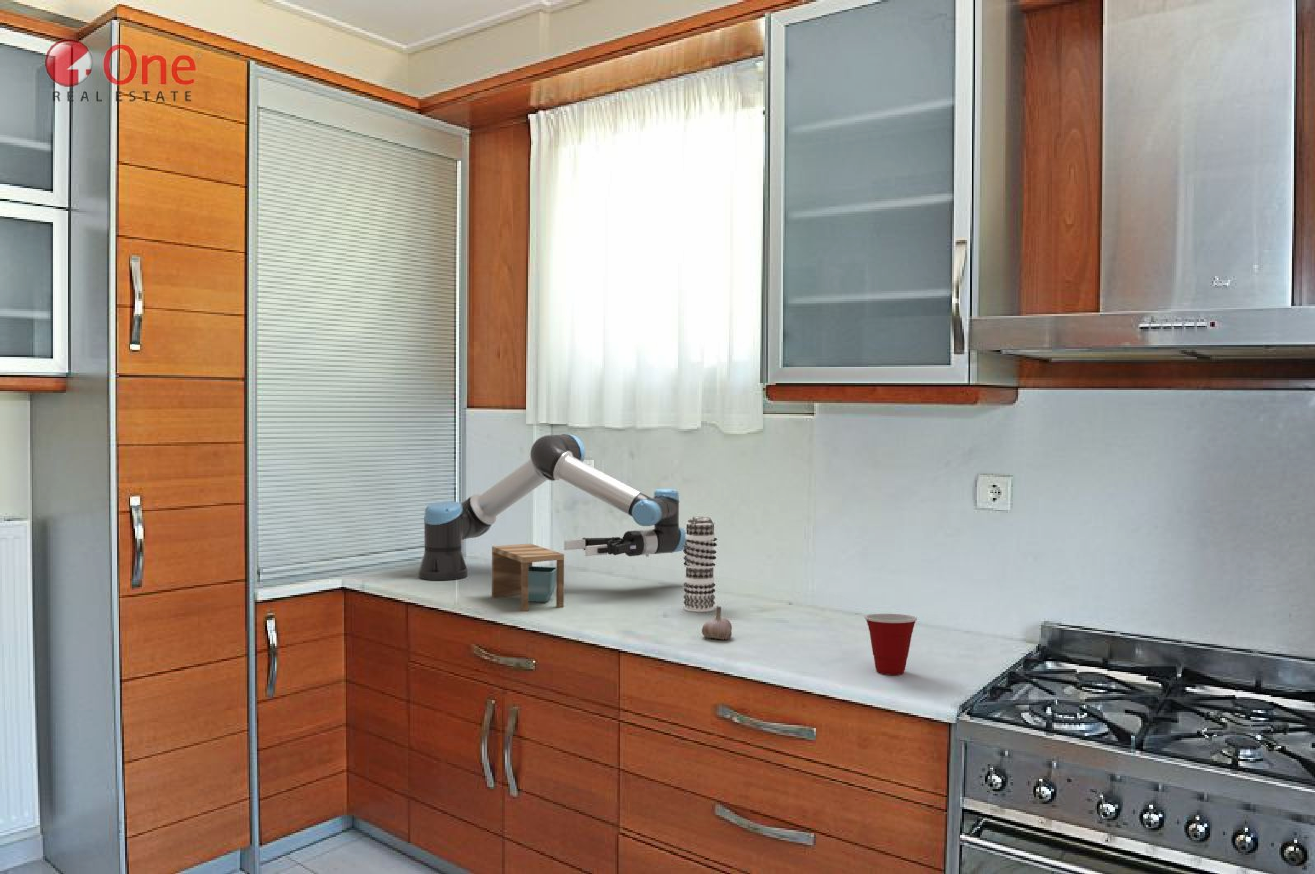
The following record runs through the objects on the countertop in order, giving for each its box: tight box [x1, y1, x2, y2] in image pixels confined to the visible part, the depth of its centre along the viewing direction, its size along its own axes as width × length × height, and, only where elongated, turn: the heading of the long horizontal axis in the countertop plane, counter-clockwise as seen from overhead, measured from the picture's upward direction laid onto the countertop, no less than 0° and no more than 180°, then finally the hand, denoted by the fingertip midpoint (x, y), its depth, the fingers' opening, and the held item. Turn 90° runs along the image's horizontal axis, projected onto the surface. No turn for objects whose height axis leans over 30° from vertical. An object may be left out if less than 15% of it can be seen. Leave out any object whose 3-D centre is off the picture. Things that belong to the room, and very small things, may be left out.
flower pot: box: [528, 565, 557, 603], centre depth 276 cm, size 9×9×9 cm
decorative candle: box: [682, 516, 718, 613], centre depth 266 cm, size 9×9×25 cm
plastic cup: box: [863, 613, 918, 676], centre depth 205 cm, size 11×11×12 cm
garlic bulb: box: [701, 605, 733, 641], centre depth 233 cm, size 8×7×8 cm
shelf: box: [491, 543, 565, 612], centre depth 273 cm, size 22×12×14 cm, turn 31°
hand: (575, 548), depth 280 cm, fingers open, 13 cm apart
